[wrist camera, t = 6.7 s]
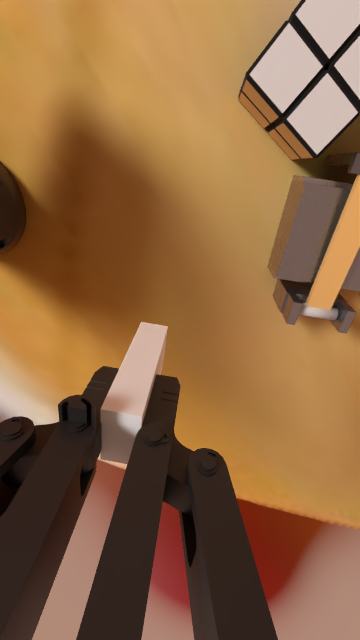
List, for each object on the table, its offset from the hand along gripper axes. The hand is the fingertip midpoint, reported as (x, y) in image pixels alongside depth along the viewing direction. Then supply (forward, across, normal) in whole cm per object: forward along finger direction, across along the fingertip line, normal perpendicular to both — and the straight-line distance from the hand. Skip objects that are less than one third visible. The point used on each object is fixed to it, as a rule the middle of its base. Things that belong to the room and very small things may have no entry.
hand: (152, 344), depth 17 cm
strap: (+23, +18, +2) cm, 29 cm away
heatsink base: (+29, +18, +3) cm, 34 cm away
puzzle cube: (+30, +10, +18) cm, 36 cm away
